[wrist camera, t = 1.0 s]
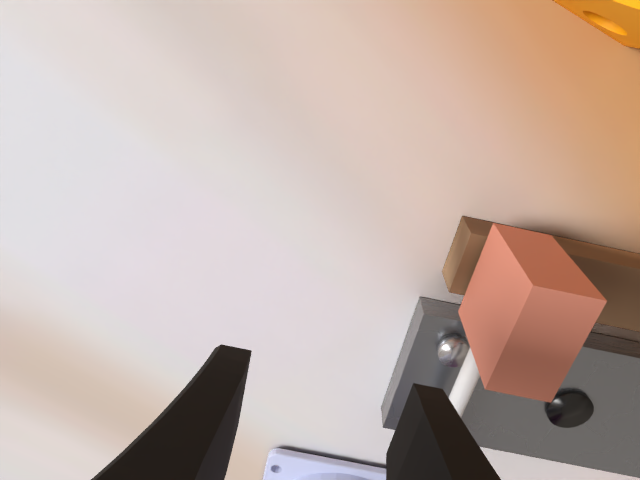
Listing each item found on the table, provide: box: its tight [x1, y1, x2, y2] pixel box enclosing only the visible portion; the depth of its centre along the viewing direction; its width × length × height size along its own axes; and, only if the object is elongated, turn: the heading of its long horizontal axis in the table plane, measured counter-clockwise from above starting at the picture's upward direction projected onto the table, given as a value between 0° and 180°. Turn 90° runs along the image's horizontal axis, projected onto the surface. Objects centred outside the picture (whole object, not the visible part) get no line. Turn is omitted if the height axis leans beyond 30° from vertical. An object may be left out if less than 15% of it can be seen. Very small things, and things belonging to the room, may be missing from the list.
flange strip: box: [381, 297, 640, 478], centre depth 21 cm, size 6×16×2 cm, turn 78°
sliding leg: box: [449, 223, 607, 417], centre depth 17 cm, size 9×2×4 cm, turn 168°
